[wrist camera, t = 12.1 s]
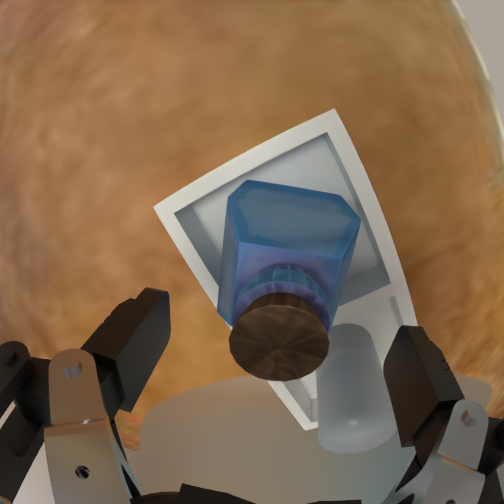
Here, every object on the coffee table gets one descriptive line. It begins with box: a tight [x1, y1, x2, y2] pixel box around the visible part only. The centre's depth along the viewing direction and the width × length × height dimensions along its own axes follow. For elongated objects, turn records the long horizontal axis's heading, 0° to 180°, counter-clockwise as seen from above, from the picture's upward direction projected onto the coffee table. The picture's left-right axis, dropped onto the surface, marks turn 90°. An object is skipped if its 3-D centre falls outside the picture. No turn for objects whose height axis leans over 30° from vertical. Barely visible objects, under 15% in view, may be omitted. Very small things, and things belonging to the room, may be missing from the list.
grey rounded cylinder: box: [315, 323, 397, 454], centre depth 19 cm, size 5×5×9 cm
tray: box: [153, 108, 418, 430], centre depth 21 cm, size 23×12×4 cm, turn 29°
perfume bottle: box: [217, 179, 361, 382], centre depth 14 cm, size 6×6×12 cm
